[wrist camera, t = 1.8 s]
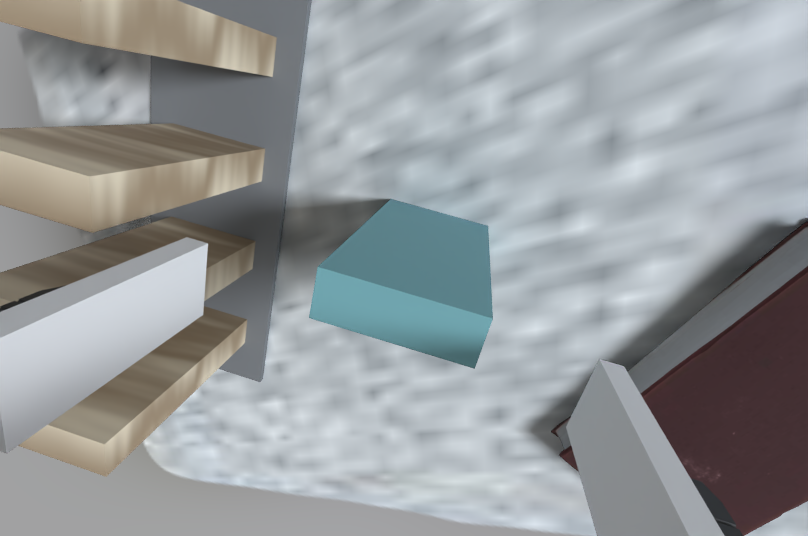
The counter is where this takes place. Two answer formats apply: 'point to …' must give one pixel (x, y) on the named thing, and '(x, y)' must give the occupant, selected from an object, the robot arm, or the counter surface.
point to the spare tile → (411, 282)
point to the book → (738, 389)
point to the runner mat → (252, 124)
